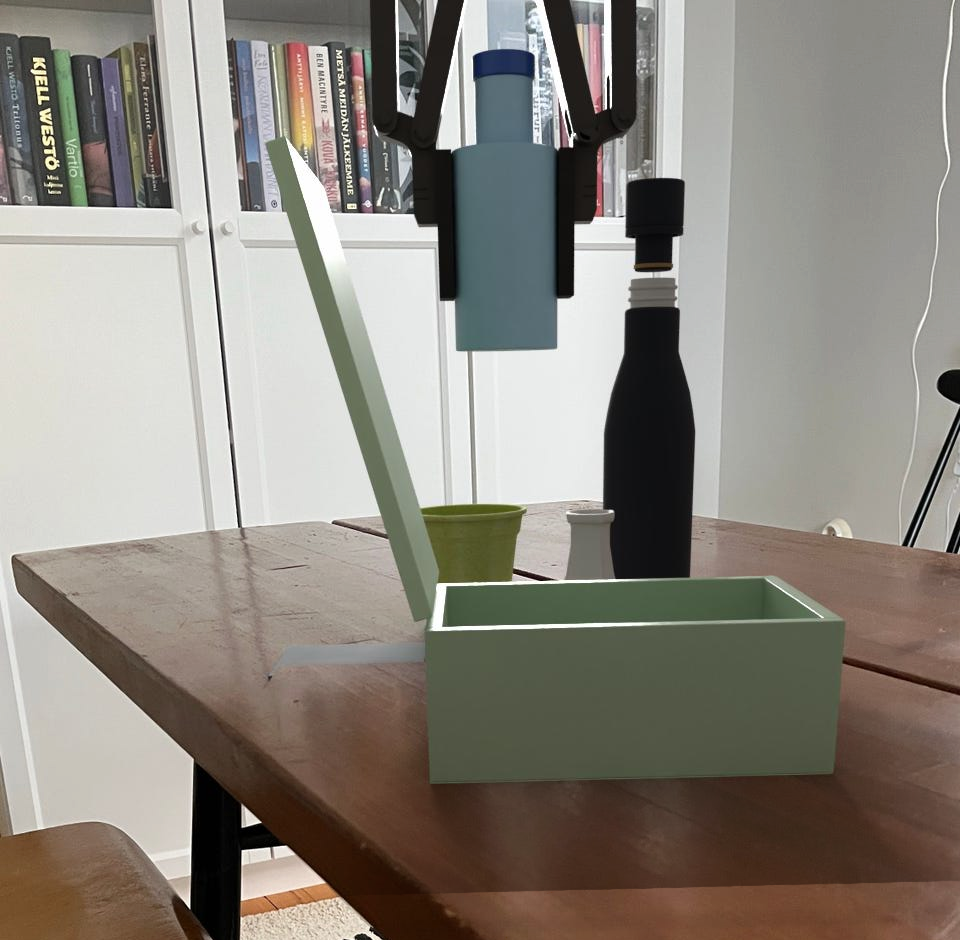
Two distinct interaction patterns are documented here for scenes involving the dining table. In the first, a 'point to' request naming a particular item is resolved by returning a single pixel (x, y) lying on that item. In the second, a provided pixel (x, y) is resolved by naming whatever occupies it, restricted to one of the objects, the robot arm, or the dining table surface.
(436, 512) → the plant pot
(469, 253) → the water bottle
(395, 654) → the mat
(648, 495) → the black bottle
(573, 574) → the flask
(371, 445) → the lid
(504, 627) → the cool chest
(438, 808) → the dining table surface
